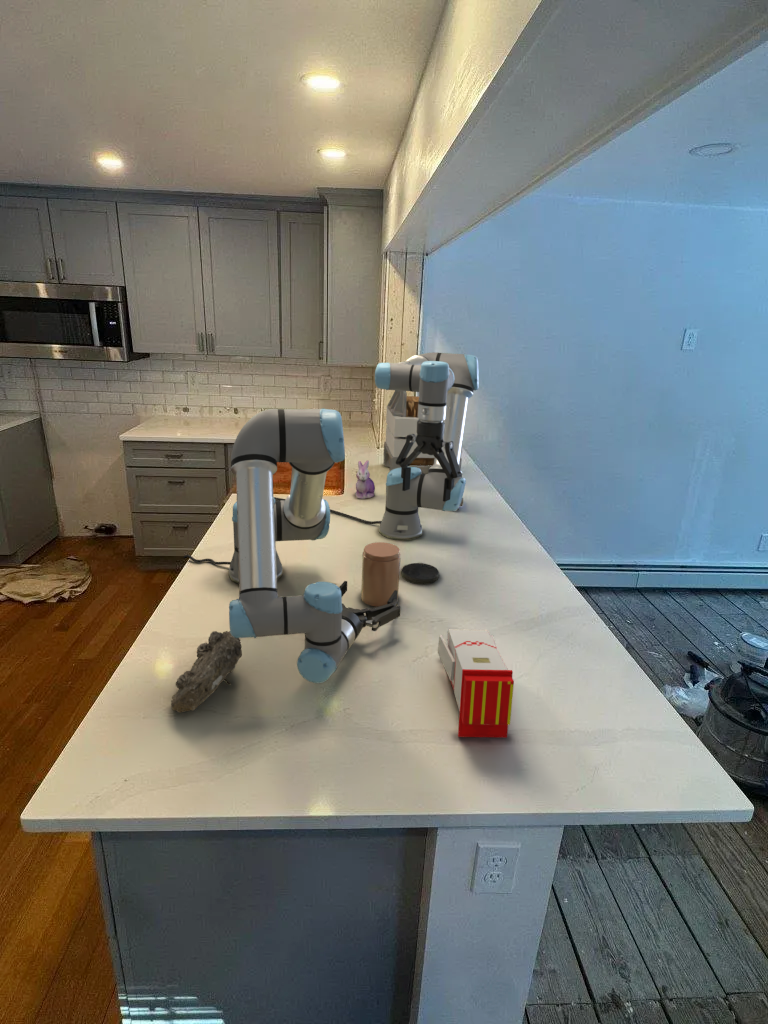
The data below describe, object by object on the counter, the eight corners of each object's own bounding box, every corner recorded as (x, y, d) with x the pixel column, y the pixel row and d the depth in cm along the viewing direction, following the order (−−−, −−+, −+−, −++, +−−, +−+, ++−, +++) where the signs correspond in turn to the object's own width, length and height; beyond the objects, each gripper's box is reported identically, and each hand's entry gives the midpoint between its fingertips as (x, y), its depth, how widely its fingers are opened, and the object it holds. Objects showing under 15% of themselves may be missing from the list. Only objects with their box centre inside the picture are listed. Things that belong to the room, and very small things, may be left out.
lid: (446, 578, 168) (446, 574, 167) (416, 587, 162) (417, 582, 161) (422, 564, 177) (423, 560, 176) (393, 572, 170) (394, 567, 170)
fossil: (194, 633, 127) (242, 602, 122) (224, 662, 130) (271, 633, 125) (149, 706, 107) (203, 673, 102) (185, 738, 110) (239, 707, 105)
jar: (361, 588, 160) (363, 540, 155) (397, 590, 160) (400, 542, 155) (360, 606, 150) (361, 556, 146) (398, 607, 151) (401, 557, 146)
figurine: (359, 500, 232) (360, 465, 227) (349, 493, 240) (350, 458, 235) (380, 498, 236) (381, 463, 231) (369, 490, 244) (370, 457, 239)
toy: (488, 613, 130) (523, 677, 101) (484, 667, 133) (517, 744, 104) (435, 612, 130) (455, 676, 101) (432, 666, 133) (451, 743, 103)
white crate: (382, 463, 289) (386, 382, 275) (445, 464, 293) (451, 384, 279) (390, 482, 257) (394, 392, 243) (460, 483, 261) (468, 394, 247)
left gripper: (289, 635, 131) (325, 594, 150) (393, 657, 124) (416, 612, 144) (289, 606, 129) (325, 569, 148) (394, 627, 122) (418, 585, 141)
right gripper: (385, 415, 157) (382, 488, 165) (464, 429, 144) (457, 508, 151) (401, 412, 163) (397, 483, 170) (478, 425, 149) (471, 501, 157)
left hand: (370, 590), depth 146 cm, fingers open, 13 cm apart
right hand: (425, 495), depth 161 cm, fingers open, 13 cm apart
